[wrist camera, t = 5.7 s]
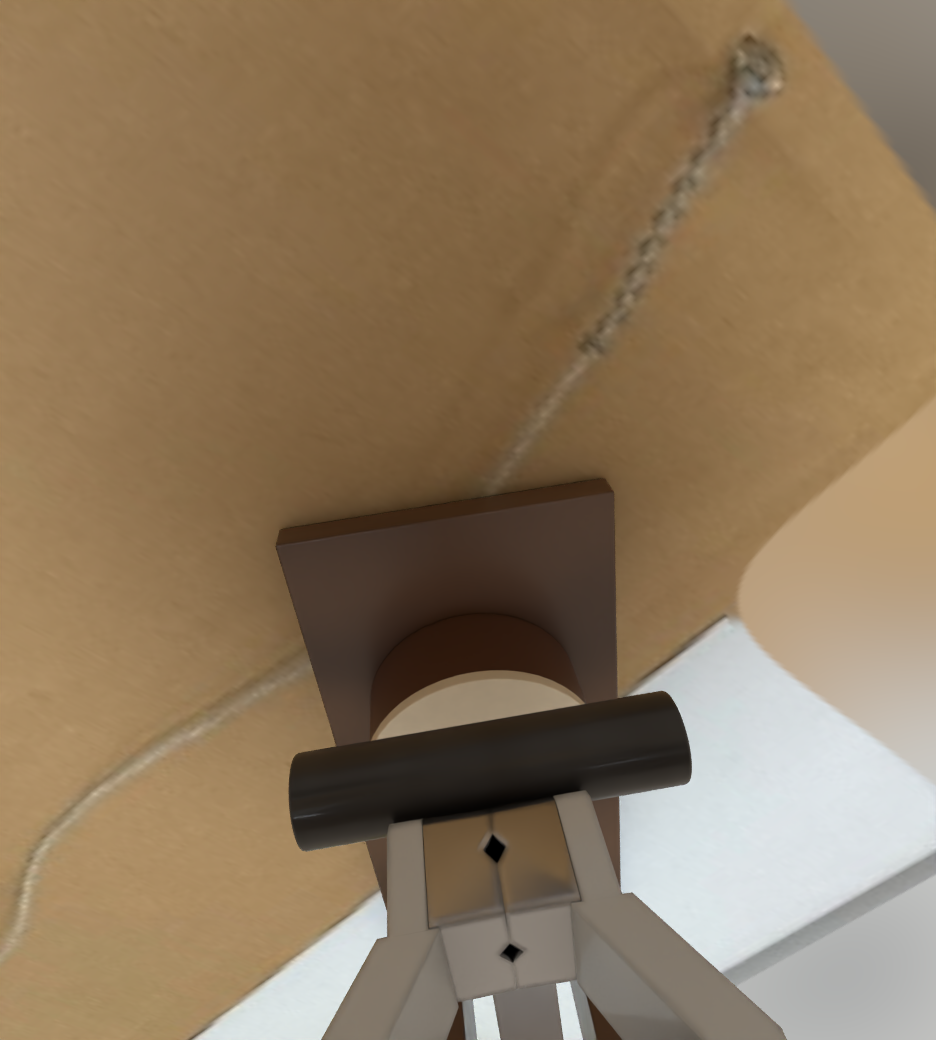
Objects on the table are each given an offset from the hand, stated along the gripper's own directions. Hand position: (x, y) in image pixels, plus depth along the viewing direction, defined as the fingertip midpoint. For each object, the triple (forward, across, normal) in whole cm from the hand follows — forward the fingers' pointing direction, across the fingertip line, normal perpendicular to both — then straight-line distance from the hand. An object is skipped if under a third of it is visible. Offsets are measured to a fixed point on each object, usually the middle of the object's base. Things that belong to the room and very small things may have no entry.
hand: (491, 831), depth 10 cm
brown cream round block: (+11, 0, +7) cm, 13 cm away
